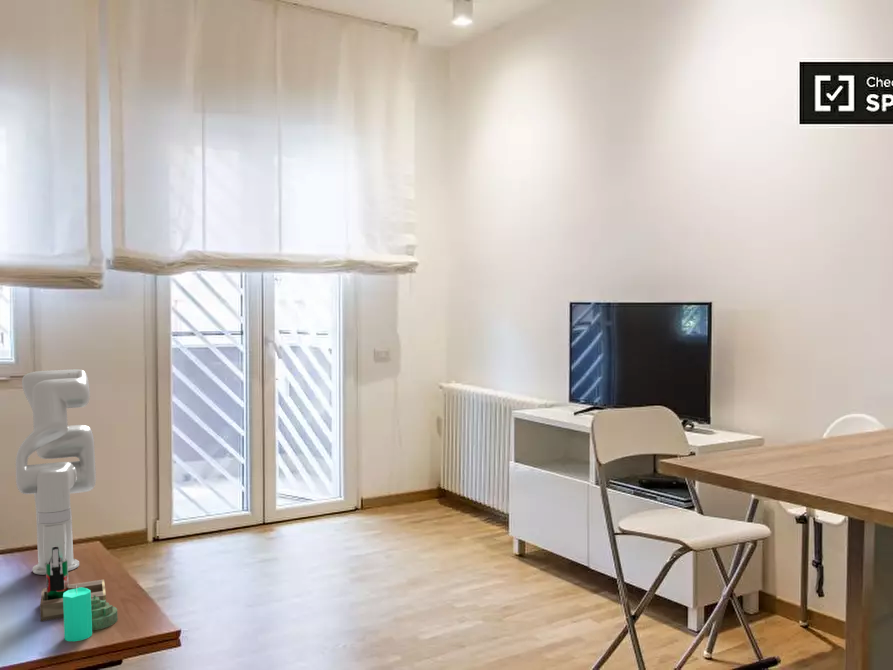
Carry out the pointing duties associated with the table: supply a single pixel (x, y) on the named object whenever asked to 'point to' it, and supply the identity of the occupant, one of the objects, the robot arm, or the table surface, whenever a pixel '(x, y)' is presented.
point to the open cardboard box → (55, 606)
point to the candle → (77, 614)
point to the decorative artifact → (102, 614)
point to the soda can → (59, 593)
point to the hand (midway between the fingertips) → (57, 585)
